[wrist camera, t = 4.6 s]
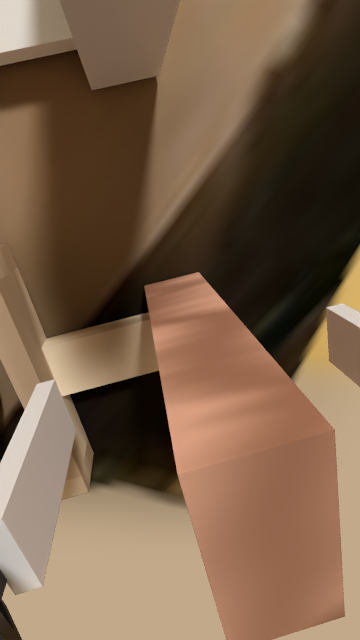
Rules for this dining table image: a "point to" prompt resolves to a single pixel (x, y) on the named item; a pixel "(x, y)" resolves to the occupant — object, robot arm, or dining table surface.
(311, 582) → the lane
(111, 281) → the dining table surface
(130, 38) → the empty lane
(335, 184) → the dining table surface
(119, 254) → the dining table surface
